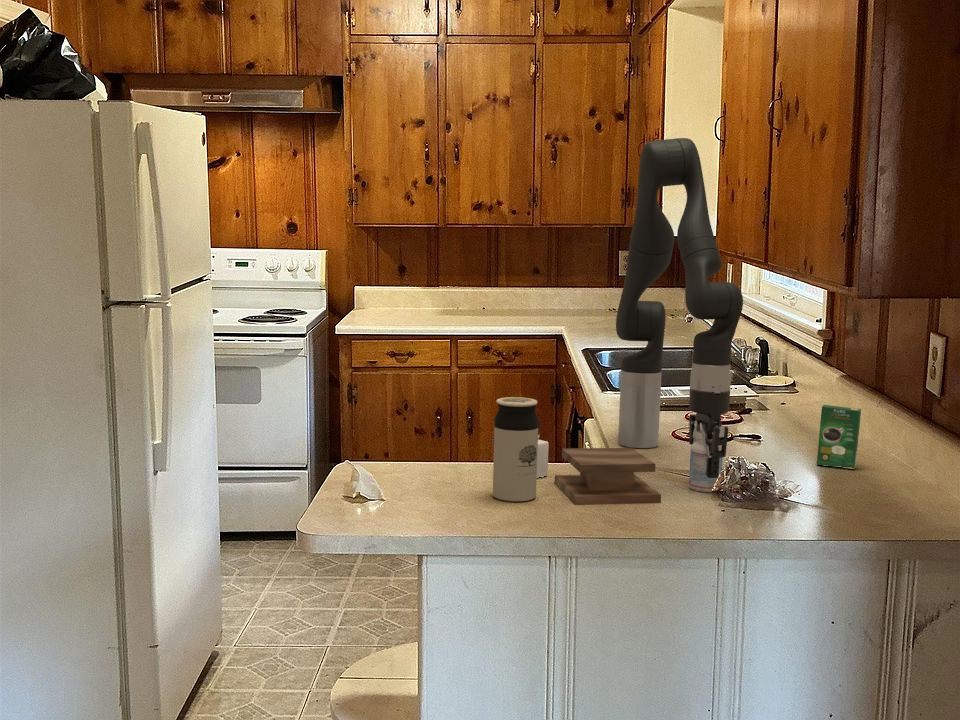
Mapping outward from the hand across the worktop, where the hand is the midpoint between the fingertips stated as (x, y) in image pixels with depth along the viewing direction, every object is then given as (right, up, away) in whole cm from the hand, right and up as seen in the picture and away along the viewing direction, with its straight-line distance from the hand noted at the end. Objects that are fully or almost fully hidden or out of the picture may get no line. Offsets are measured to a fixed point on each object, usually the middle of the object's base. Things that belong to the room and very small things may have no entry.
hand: (705, 473), depth 199 cm
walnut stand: (-20, -3, -4) cm, 20 cm away
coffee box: (+33, -1, +22) cm, 40 cm away
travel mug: (-37, -4, -9) cm, 38 cm away
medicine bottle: (-35, -2, +8) cm, 36 cm away
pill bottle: (0, -3, 0) cm, 3 cm away
